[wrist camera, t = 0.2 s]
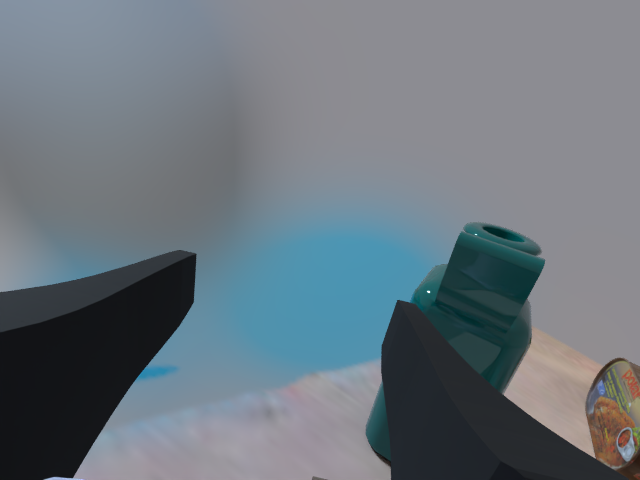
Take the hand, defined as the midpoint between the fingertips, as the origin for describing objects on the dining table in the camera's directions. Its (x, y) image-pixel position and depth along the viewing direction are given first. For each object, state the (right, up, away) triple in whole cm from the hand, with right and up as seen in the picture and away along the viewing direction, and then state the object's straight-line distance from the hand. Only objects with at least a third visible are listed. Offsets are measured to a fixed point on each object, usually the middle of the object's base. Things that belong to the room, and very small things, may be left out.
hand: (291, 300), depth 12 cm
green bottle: (+10, -17, +20) cm, 28 cm away
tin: (+33, -20, +26) cm, 46 cm away
